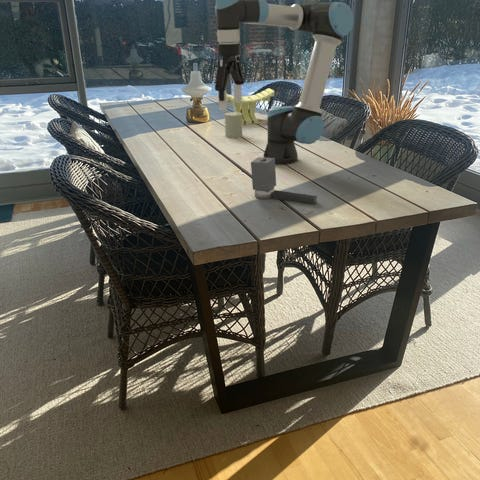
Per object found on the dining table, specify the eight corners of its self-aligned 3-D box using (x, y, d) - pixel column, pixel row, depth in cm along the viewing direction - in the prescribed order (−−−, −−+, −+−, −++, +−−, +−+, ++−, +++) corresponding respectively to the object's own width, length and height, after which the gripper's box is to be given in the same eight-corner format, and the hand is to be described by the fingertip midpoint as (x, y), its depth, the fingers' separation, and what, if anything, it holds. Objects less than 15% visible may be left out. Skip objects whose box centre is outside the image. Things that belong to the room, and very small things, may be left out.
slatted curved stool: (268, 117, 301) (268, 87, 293) (274, 122, 287) (274, 91, 279) (219, 119, 297) (218, 89, 289) (223, 125, 283) (222, 93, 275)
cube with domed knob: (259, 184, 179) (257, 156, 174) (276, 185, 176) (274, 157, 172) (252, 189, 173) (250, 161, 169) (269, 190, 171) (267, 162, 167)
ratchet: (259, 191, 180) (259, 174, 177) (318, 200, 171) (319, 182, 169) (251, 197, 175) (251, 180, 172) (312, 206, 166) (313, 188, 163)
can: (241, 138, 254) (240, 114, 249) (223, 137, 256) (222, 114, 250) (243, 133, 262) (243, 111, 257) (226, 133, 264) (226, 111, 259)
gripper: (232, 40, 178) (234, 99, 188) (202, 46, 158) (206, 112, 167) (251, 40, 176) (252, 100, 185) (223, 46, 155) (226, 113, 164)
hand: (230, 106), depth 176 cm, fingers open, 13 cm apart
